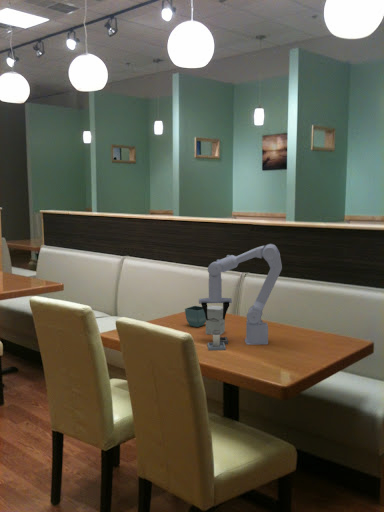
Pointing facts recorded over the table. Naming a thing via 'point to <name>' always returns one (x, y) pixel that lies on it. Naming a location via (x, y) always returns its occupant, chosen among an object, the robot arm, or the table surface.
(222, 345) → the tray
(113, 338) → the table surface
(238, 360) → the table surface
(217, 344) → the fuse
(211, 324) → the supplement box
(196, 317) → the flower pot
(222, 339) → the socket
